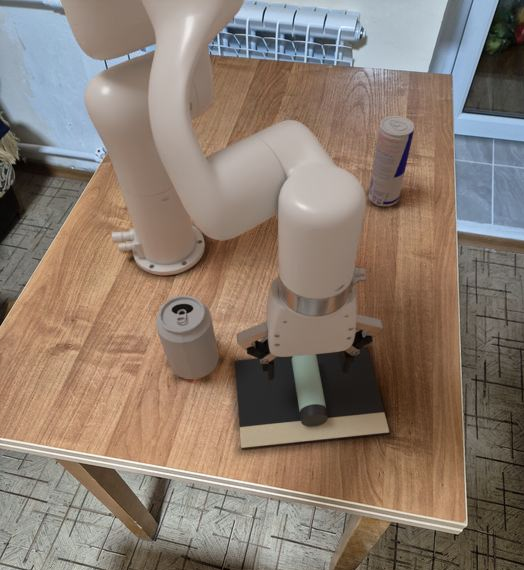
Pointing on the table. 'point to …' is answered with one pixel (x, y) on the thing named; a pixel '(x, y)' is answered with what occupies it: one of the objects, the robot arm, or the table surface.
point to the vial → (309, 390)
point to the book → (285, 410)
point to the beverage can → (390, 160)
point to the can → (187, 336)
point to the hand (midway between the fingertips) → (306, 366)
